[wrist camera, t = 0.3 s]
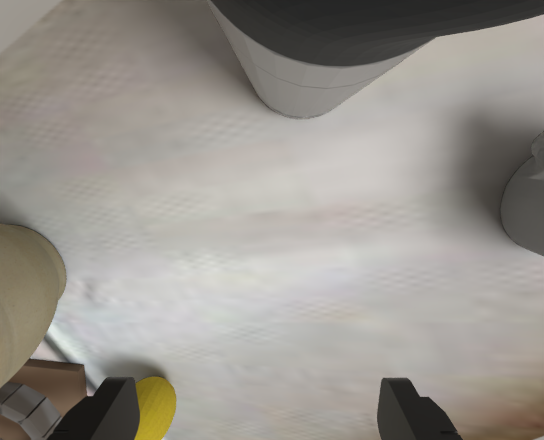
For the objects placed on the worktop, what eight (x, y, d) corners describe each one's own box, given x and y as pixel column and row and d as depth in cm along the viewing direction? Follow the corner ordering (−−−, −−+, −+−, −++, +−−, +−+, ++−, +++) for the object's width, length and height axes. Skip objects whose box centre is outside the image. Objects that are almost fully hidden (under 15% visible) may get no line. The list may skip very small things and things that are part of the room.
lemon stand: (-54, 350, 32) (-94, 374, 29) (83, 364, 32) (60, 390, 29) (-28, 453, 37) (-60, 485, 33) (94, 467, 36) (74, 500, 33)
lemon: (148, 403, 33) (108, 481, 26) (131, 365, 32) (82, 435, 24) (192, 395, 33) (164, 472, 25) (176, 356, 31) (142, 425, 24)
